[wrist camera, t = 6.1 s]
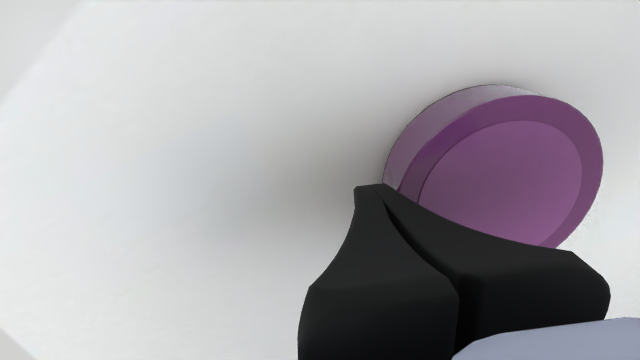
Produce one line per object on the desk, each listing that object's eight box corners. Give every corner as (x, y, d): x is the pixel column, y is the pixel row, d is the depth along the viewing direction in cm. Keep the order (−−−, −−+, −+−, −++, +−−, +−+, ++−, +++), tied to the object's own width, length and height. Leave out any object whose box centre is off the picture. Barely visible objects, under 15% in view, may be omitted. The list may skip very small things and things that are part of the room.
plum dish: (408, 270, 16) (423, 303, 14) (357, 131, 12) (368, 150, 10) (566, 215, 15) (605, 242, 13) (556, 50, 11) (605, 55, 10)
